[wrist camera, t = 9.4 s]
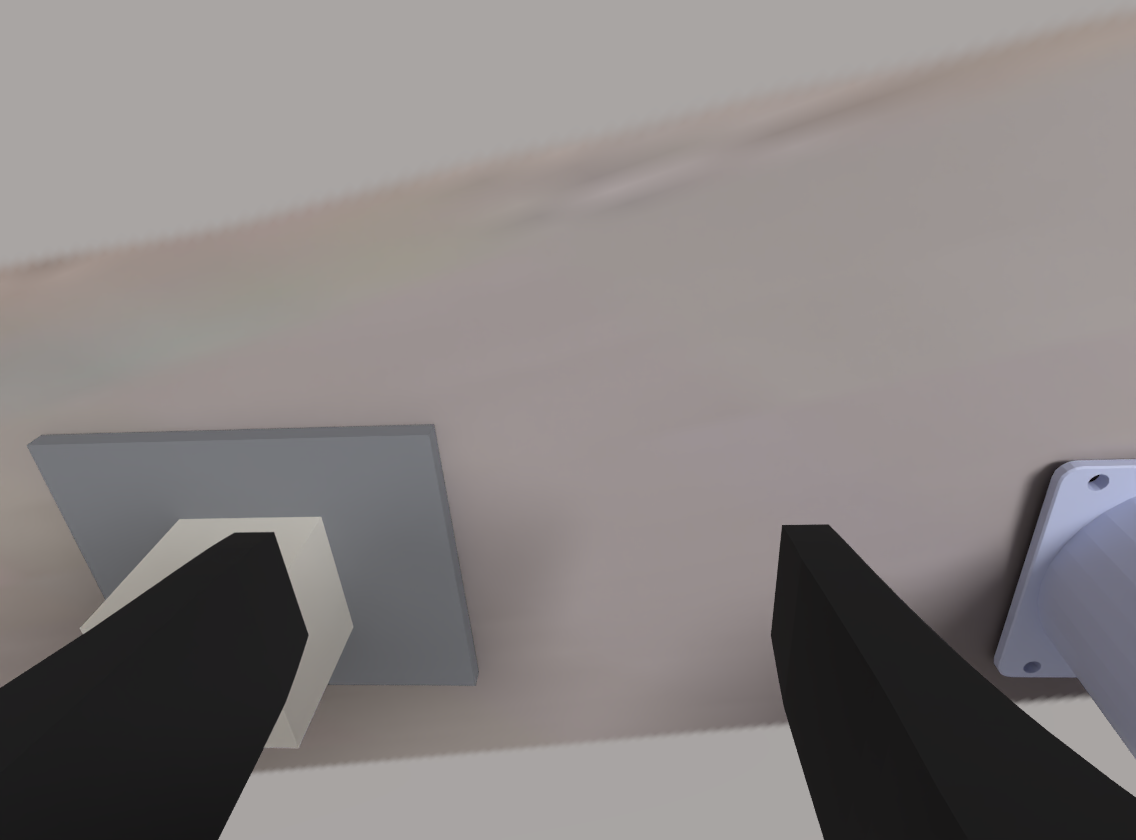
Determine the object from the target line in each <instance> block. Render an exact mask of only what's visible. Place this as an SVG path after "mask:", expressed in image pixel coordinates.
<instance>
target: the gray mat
mask: <svg viewBox="0 0 1136 840" xmlns="http://www.w3.org/2000/svg"><path fill="white" fill-rule="evenodd" d="M27 447H28V449H29V451H30V453H31V455H32V457H33V459H34V461H35V463H36V465H37V467H38V468H39V470H40V472H41V474H42V476H43V478H44V480H45V482H46V484H47V486H48V488H49V490H50V492H51V494H52V496H53V498H54V500H55V502H56V504H57V506H58V508H59V510H60V512H61V514H62V516H63V518H64V519H65V521H66V523H67V525H68V527H69V529H70V531H71V533H72V535H73V537H74V539H75V541H76V543H77V545H78V547H79V549H80V551H81V553H82V555H83V557H84V559H85V561H86V563H87V565H88V567H89V569H90V570H91V572H92V574H93V576H94V578H95V580H96V582H97V584H98V586H99V588H100V590H101V592H102V594H103V596H104V598H105V600H106V599H107V598H108V597H109V596H110V595H111V594H112V592H113V591H114V590H115V589H116V588H117V587H118V586H119V585H120V584H121V583H122V581H123V580H124V579H125V578H126V577H127V576H128V575H129V574H130V573H131V572H132V570H133V569H134V568H135V567H136V566H137V565H138V564H139V563H140V562H141V561H142V560H143V558H144V557H145V556H146V555H147V554H148V553H149V552H150V551H151V550H152V549H153V547H154V546H155V545H156V544H157V543H158V542H159V541H160V540H161V539H162V538H163V537H164V535H165V534H166V533H167V532H168V531H169V530H170V529H171V528H172V527H173V526H174V524H175V523H176V522H177V521H178V520H179V519H215V518H273V517H322V521H323V524H324V528H325V531H326V535H327V538H328V541H329V545H330V548H331V552H332V555H333V558H334V562H335V565H336V569H337V572H338V575H339V579H340V582H341V586H342V589H343V592H344V596H345V599H346V603H347V606H348V610H349V613H350V616H351V620H352V623H353V629H352V631H351V633H350V636H349V638H348V640H347V642H346V645H345V647H344V649H343V651H342V653H341V656H340V658H339V660H338V662H337V665H336V667H335V669H334V671H333V673H332V676H331V678H330V680H329V682H328V685H459V686H476V682H477V677H478V673H479V671H478V665H477V660H476V654H475V648H474V643H473V637H472V632H471V626H470V621H469V615H468V610H467V604H466V599H465V593H464V588H463V582H462V576H461V571H460V565H459V560H458V554H457V549H456V543H455V538H454V532H453V527H452V521H451V516H450V510H449V504H448V499H447V493H446V488H445V482H444V477H443V471H442V466H441V460H440V455H439V449H438V444H437V438H436V432H435V427H434V424H430V425H393V426H356V427H319V428H282V429H245V430H208V431H171V432H134V433H97V434H60V435H41V436H39V437H38V438H37V439H35V440H34V441H32V442H31V443H29V444H28V445H27Z"/></svg>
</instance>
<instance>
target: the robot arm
mask: <svg viewBox="0 0 1136 840" xmlns="http://www.w3.org/2000/svg"><path fill="white" fill-rule="evenodd" d="M1096 475H1099V477H1098V478H1097V479H1096V480H1094V481H1093V482H1089V481H1090V479H1091V478H1093V477H1094V476H1096ZM308 636H309V635H308V632H307V629H306V626H305V623H304V620H303V617H302V614H301V611H300V608H299V605H298V602H297V599H296V596H295V593H294V590H293V587H292V584H291V581H290V578H289V575H288V572H287V569H286V566H285V563H284V560H283V557H282V554H281V551H280V548H279V545H278V542H277V539H276V536H275V533H274V532H235V533H233V534H231V535H229V536H228V537H226V538H224V539H223V540H221V541H219V542H218V543H216V544H214V545H213V546H211V547H210V548H208V549H207V550H205V551H204V552H202V553H201V554H199V555H198V556H196V557H195V558H193V559H192V560H190V561H189V562H187V563H186V564H184V565H183V566H182V567H180V568H179V569H177V570H176V571H174V572H173V573H171V574H170V575H168V576H167V577H166V578H164V579H163V580H161V581H160V582H158V583H157V584H156V585H154V586H153V587H151V588H150V589H148V590H147V591H145V592H144V593H143V594H141V595H140V596H138V597H137V598H135V599H134V600H132V601H131V602H130V603H128V604H127V605H125V606H124V607H122V608H121V609H119V610H118V611H116V612H115V613H114V614H112V615H111V616H109V617H108V618H106V619H105V620H103V621H102V622H101V623H99V624H98V625H96V626H95V627H93V628H92V629H90V630H89V631H87V632H86V633H84V634H83V635H81V636H80V637H78V638H77V639H75V640H74V641H72V642H71V643H69V644H67V645H66V646H64V647H63V648H61V649H60V650H58V651H57V652H55V653H54V654H52V655H51V656H49V657H47V658H46V659H44V660H43V661H41V662H40V663H38V664H37V665H35V666H34V667H32V668H30V669H29V670H27V671H26V672H24V673H23V674H21V675H20V676H18V677H17V678H15V679H13V680H12V681H10V682H9V683H7V684H6V685H4V686H3V687H1V688H0V840H218V839H219V837H220V835H221V833H222V831H223V829H224V827H225V825H226V822H227V821H228V819H229V816H230V815H231V813H232V811H233V809H234V807H235V805H236V803H237V801H238V799H239V797H240V795H241V793H242V791H243V788H244V787H245V785H246V783H247V781H248V779H249V777H250V775H251V773H252V771H253V769H254V767H255V765H256V763H257V761H258V759H259V757H260V755H261V753H262V751H263V749H264V746H265V744H266V742H267V740H268V738H269V736H270V734H271V732H272V730H273V728H274V726H275V724H276V722H277V720H278V718H279V716H280V714H281V711H282V709H283V707H284V705H285V703H286V701H287V698H288V695H289V692H290V690H291V687H292V684H293V681H294V679H295V676H296V673H297V670H298V667H299V664H300V661H301V658H302V655H303V652H304V649H305V645H306V642H307V639H308ZM771 638H772V644H773V650H774V656H775V661H776V667H777V673H778V678H779V683H780V689H781V694H782V699H783V705H784V708H785V712H786V715H787V719H788V722H789V725H790V729H791V732H792V735H793V739H794V742H795V745H796V749H797V752H798V755H799V759H800V762H801V765H802V768H803V772H804V775H805V779H806V782H807V785H808V788H809V791H810V795H811V798H812V801H813V805H814V808H815V811H816V815H817V818H818V821H819V824H820V828H821V831H822V834H823V837H824V840H1136V797H1134V796H1133V795H1132V794H1130V793H1129V792H1128V791H1126V790H1125V789H1123V788H1122V787H1121V786H1119V785H1118V784H1116V783H1115V782H1114V781H1112V780H1111V779H1110V778H1109V777H1107V776H1106V775H1104V774H1103V773H1102V772H1101V771H1099V770H1098V769H1097V768H1095V767H1094V766H1093V765H1092V764H1090V763H1089V762H1088V761H1086V760H1085V759H1084V758H1082V757H1081V756H1080V755H1078V754H1077V753H1076V752H1074V751H1073V750H1072V749H1071V748H1069V747H1068V746H1066V744H1064V743H1063V742H1062V741H1060V740H1059V739H1058V738H1056V737H1055V736H1054V735H1052V734H1051V733H1050V732H1048V731H1047V730H1046V729H1045V728H1044V727H1042V726H1041V725H1040V724H1039V723H1037V722H1036V721H1035V720H1034V719H1033V718H1031V717H1030V716H1029V715H1028V714H1026V713H1025V712H1024V711H1023V710H1022V709H1020V708H1019V707H1018V706H1017V705H1015V704H1014V703H1013V702H1012V701H1011V700H1010V699H1009V698H1007V697H1006V696H1005V695H1004V694H1003V693H1002V692H1000V691H999V690H998V689H997V688H996V687H995V686H994V685H992V684H991V683H990V682H989V681H988V680H987V679H985V678H984V677H983V676H982V675H981V674H980V673H979V672H977V671H976V670H975V669H974V668H973V667H972V666H971V665H970V664H968V663H967V662H966V661H965V660H964V659H963V658H962V657H961V656H960V655H959V654H958V653H956V652H955V651H954V650H953V649H952V648H951V647H950V646H949V645H948V644H947V643H946V642H945V641H944V640H943V639H942V638H941V637H940V636H939V635H937V634H936V633H935V632H934V631H933V630H932V629H931V628H930V627H929V626H928V625H927V624H926V623H925V622H924V621H923V620H922V619H921V618H920V617H919V616H918V615H917V614H916V613H915V612H913V611H912V610H911V609H910V608H909V607H908V606H907V605H906V604H905V603H904V602H903V601H902V600H901V599H900V598H899V597H898V596H897V595H896V594H895V593H894V592H893V591H892V589H891V588H890V587H889V586H888V585H887V584H886V583H885V582H884V581H883V580H882V579H881V578H880V577H879V576H878V575H877V574H876V573H875V572H874V571H873V570H872V569H871V568H870V567H869V566H868V565H867V564H866V563H865V562H864V561H863V560H862V558H861V557H860V556H859V555H858V554H857V553H856V552H855V551H854V550H853V549H852V548H851V547H850V546H849V545H848V544H847V543H846V542H845V541H844V540H843V539H842V538H841V537H840V536H839V535H838V534H837V533H836V531H834V530H833V529H832V528H831V527H830V526H829V525H782V532H781V542H780V552H779V561H778V571H777V581H776V591H775V601H774V611H773V620H772V630H771ZM994 664H995V666H996V667H997V669H998V671H999V672H1000V674H1002V675H1004V676H1007V677H1074V678H1078V679H1079V681H1080V682H1081V684H1082V685H1083V686H1084V688H1085V689H1086V690H1087V692H1088V693H1089V695H1090V696H1091V697H1092V699H1093V700H1094V702H1095V703H1096V704H1097V706H1098V707H1099V709H1100V710H1101V711H1102V713H1103V714H1104V716H1105V717H1106V718H1107V720H1108V721H1109V723H1110V724H1111V725H1112V727H1113V728H1114V730H1115V731H1116V732H1117V734H1118V735H1119V736H1120V738H1121V739H1122V741H1123V742H1124V743H1125V745H1126V746H1127V748H1128V749H1129V750H1130V752H1131V753H1132V755H1133V756H1134V757H1135V759H1136V459H1117V460H1076V461H1070V462H1067V463H1065V464H1063V465H1061V466H1060V467H1059V468H1057V469H1056V470H1055V472H1054V474H1053V475H1052V478H1051V481H1050V484H1049V487H1048V490H1047V493H1046V497H1045V500H1044V503H1043V506H1042V509H1041V512H1040V515H1039V518H1038V522H1037V525H1036V528H1035V531H1034V534H1033V537H1032V540H1031V544H1030V547H1029V550H1028V553H1027V556H1026V559H1025V562H1024V565H1023V569H1022V572H1021V575H1020V578H1019V581H1018V584H1017V587H1016V591H1015V594H1014V597H1013V600H1012V603H1011V606H1010V609H1009V612H1008V616H1007V619H1006V622H1005V625H1004V628H1003V631H1002V634H1001V638H1000V641H999V644H998V647H997V650H996V653H995V656H994Z"/></svg>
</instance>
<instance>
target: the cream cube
mask: <svg viewBox="0 0 1136 840" xmlns="http://www.w3.org/2000/svg"><path fill="white" fill-rule="evenodd" d="M235 532H274V533H275V536H276V539H277V542H278V545H279V548H280V551H281V554H282V557H283V560H284V563H285V566H286V569H287V572H288V575H289V578H290V581H291V584H292V587H293V590H294V593H295V596H296V599H297V602H298V605H299V608H300V611H301V614H302V617H303V620H304V623H305V626H306V629H307V632H308V635H309V636H308V639H307V642H306V645H305V649H304V652H303V655H302V658H301V661H300V664H299V667H298V670H297V673H296V676H295V679H294V681H293V684H292V687H291V690H290V692H289V695H288V698H287V701H286V703H285V705H284V707H283V709H282V711H281V714H280V716H279V718H278V720H277V722H276V724H275V726H274V728H273V730H272V732H271V734H270V736H269V738H268V740H267V742H266V744H265V746H264V748H299V747H300V745H301V742H302V740H303V738H304V736H305V733H306V731H307V729H308V727H309V725H310V722H311V720H312V718H313V716H314V713H315V711H316V709H317V707H318V705H319V702H320V700H321V698H322V696H323V693H324V691H325V689H326V687H327V685H328V682H329V680H330V678H331V676H332V673H333V671H334V669H335V667H336V665H337V662H338V660H339V658H340V656H341V653H342V651H343V649H344V647H345V645H346V642H347V640H348V638H349V636H350V633H351V631H352V629H353V623H352V620H351V616H350V613H349V610H348V606H347V603H346V599H345V596H344V592H343V589H342V586H341V582H340V579H339V575H338V572H337V569H336V565H335V562H334V558H333V555H332V552H331V548H330V545H329V541H328V538H327V535H326V531H325V528H324V524H323V521H322V517H273V518H215V519H179V520H178V521H177V522H176V523H175V524H174V526H173V527H172V528H171V529H170V530H169V531H168V532H167V533H166V534H165V535H164V537H163V538H162V539H161V540H160V541H159V542H158V543H157V544H156V545H155V546H154V547H153V549H152V550H151V551H150V552H149V553H148V554H147V555H146V556H145V557H144V558H143V560H142V561H141V562H140V563H139V564H138V565H137V566H136V567H135V568H134V569H133V570H132V572H131V573H130V574H129V575H128V576H127V577H126V578H125V579H124V580H123V581H122V583H121V584H120V585H119V586H118V587H117V588H116V589H115V590H114V591H113V592H112V594H111V595H110V596H109V597H108V598H107V599H106V600H105V601H104V602H103V603H102V604H101V606H100V607H99V608H98V609H97V610H96V611H95V612H94V613H93V614H92V615H91V617H90V618H89V619H88V620H87V621H86V622H85V623H84V624H83V625H82V626H81V627H80V630H81V632H82V634H84V633H86V632H87V631H89V630H90V629H92V628H93V627H95V626H96V625H98V624H99V623H101V622H102V621H103V620H105V619H106V618H108V617H109V616H111V615H112V614H114V613H115V612H116V611H118V610H119V609H121V608H122V607H124V606H125V605H127V604H128V603H130V602H131V601H132V600H134V599H135V598H137V597H138V596H140V595H141V594H143V593H144V592H145V591H147V590H148V589H150V588H151V587H153V586H154V585H156V584H157V583H158V582H160V581H161V580H163V579H164V578H166V577H167V576H168V575H170V574H171V573H173V572H174V571H176V570H177V569H179V568H180V567H182V566H183V565H184V564H186V563H187V562H189V561H190V560H192V559H193V558H195V557H196V556H198V555H199V554H201V553H202V552H204V551H205V550H207V549H208V548H210V547H211V546H213V545H214V544H216V543H218V542H219V541H221V540H223V539H224V538H226V537H228V536H229V535H231V534H233V533H235Z"/></svg>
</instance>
